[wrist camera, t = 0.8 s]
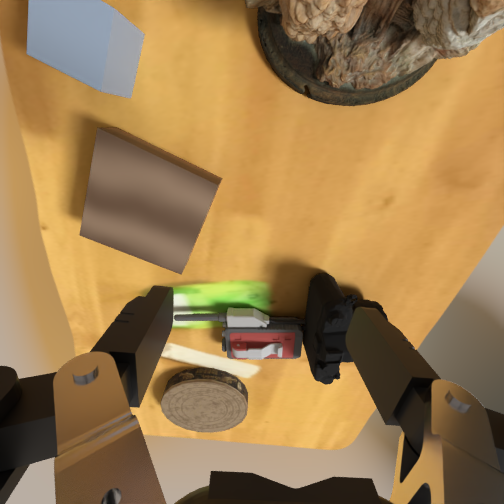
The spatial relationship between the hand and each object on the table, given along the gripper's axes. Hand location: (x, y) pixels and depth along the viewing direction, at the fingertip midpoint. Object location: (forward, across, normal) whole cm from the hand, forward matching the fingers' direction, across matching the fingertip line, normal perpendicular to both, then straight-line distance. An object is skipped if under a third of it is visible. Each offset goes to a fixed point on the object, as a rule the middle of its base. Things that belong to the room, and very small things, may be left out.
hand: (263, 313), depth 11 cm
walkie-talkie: (+22, -1, +19) cm, 29 cm away
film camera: (+21, -14, +14) cm, 29 cm away
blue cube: (+20, +15, -13) cm, 28 cm away
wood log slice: (+24, +4, +38) cm, 45 cm away
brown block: (+21, +12, +1) cm, 24 cm away
